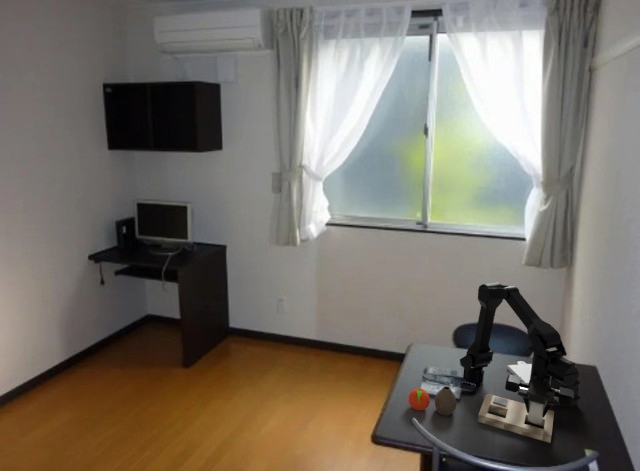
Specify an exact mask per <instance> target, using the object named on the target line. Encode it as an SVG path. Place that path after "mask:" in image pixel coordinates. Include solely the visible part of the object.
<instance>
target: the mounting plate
mask: <svg viewBox="0 0 640 471" xmlns="http://www.w3.org/2000/svg"><path fill="white" fill-rule="evenodd" d="M506 366H507V369H506V370H508V371H509V372H510V373H511V375H514V376H518V377H521V382H525V383H529V381H530V375H531V367H532V363H526V362H525V361H522V360H519V361H517V362H516V364H507V365H506Z"/></svg>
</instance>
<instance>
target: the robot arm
mask: <svg viewBox="0 0 640 471" xmlns="http://www.w3.org/2000/svg"><path fill="white" fill-rule="evenodd" d="M477 301H478V302H479V304H480V308H479V316H478V320H477V324H476V329H475V330H476V331H475V336H474V341H473V342H472V343H471V344H470V345H469V347H468V348H467V351H466V353H465V356H463V357H461V358H460V359H459V364H460V366H461V367H462V368H463V375H462V379H465V380H466V381H468V382H471V383H475V384H476V386H477V387H476V386H475V387H476V388H481V385H482V384H483V383H484V381H485V380H484V379H485V370H484V368H487V367H488V366H489V364H491V362H493V358H494V356H493V355H494V350H492V349H491V347H490V340H491V334H492V330H493V327H494V326H493V325H494V320H495V316H496V311H497V309H498V307H499V306H500V305H501V304H502V303H503V301H505V302H506V303H507V304H508V306H509V307H510V308H511V309H512V311H513V312H514V313H515V315H516V316H517V318H518V319H519V320H520V322H521V323H522V324H523V326H524V327H525V328H526V330H527V332H526V333H527V338H528V339H529V341H530V342H531V344H532V345H530V346H528V347H527V349H528V350H529V351H530V352H532V360H531V364H532V367H531V375H530V381H529V383H525V382H521V377H518V376H514V375H513V374H509V375H507V377H506V381H505V387H504V389H505V390H506V391H509V392H513V393H517V395H518V396H520V397H521V398H522V399H523V403H524V404H525V406H526V410H527V413H529V406H530V401H532V402H538V403H540V404H544V410H543V417H544V416H545V415H546V413H547V412H548V410H550V409H551V407H552V405H558V402H559V403H560V404H562V405H566V406H567V407H568V408H569V407H573V406H574V405H573V400H574V392H573V390H571V389H567V388H563V387H560V388H559V390H557V389H553V388H551V387H550V384H551V377H553V378H555V379H557V380H558V381H560V382H561V383H563V384H565V385H566V386H571V385H573V384H574V383H575V382H576V381H577V379H578V380H579V377H580V372H579V369H578V368H577V367H576V363H575V362H573V361H571V360H569V359H567V358H565V357H566V356H567V355H568V353H567V351H566V348H565V346H564V343H563V341H562V339H561V334H560V333H559V331H558V330H557V329H556V328H554V326H553V325H551V324H550V323H548V322H546V321H544V320H543V319H541V317H540V316H539V315H538V314H537V313H536V312H535V310H534V309H533V308H532V306H531V305H530V304H529V302H528V301H527V300H526V299H525V297H524V296H523V294H521V293H520V289H519V288H518V287H517V286H513V285H506V284H505V285H504V284H502V283H501V282H498V281H497V282H490V283H483V284H481V285H479V287H478V289H477ZM551 349H555V350H551Z"/></svg>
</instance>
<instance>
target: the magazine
mask: <svg viewBox="0 0 640 471" xmlns="http://www.w3.org/2000/svg"><path fill="white" fill-rule="evenodd" d="M580 384H581V383H580V380H579V378H578V379H577V381H576V382H575V383H574V384H573V385H571V386H566V385H565V384H563V383H561V382H560V381H558V380H557V379H555V378H553V377H551V384H550V387H551V388H553V389H557V390H559V388H560V387H563V388H567V389H571V390H573V392H574V400H573V406H578V402H579V400H580V399H581V396H580V395H579V391H580V390H579V385H580ZM552 406H553V407H554V406H558V407H559V406H566V405H562V404H560V403H559V402H558V405H552ZM552 406H551V407H552Z"/></svg>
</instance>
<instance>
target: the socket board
mask: <svg viewBox="0 0 640 471" xmlns="http://www.w3.org/2000/svg"><path fill="white" fill-rule="evenodd" d="M489 412H492V413H494V414H492V413H489ZM495 414H499V415H502V416H505V417H502V416H498V415H495ZM554 415H555V411H554V410H550V409H549V410H548V412H547V413H546V415H545V416H544V417H542V423H540V424H535V423H532V422H530V421H529V420H528V413H527V410H526V406H525V402H520V401H516V400H512V399H509V398H506V397H501V396H497V395H495V394H489V393H485V396H484V399H483V402H482V404H481V406H480V410H479V412H478V416H477V417H478V418H477V422H478V423H482V424H485V425H489V426H491V427H494V428H498V429H502V430H505V431H508V432H512V433H515V434H518V435H520V436H521V435H522V436H525V437H529V438H532V439H535V440H538V441H543V442H545V443H549V444H551V441H552V434H553V425H554V424H553V423H554V417H555V416H554ZM526 422H527V424H525V423H526ZM528 423H530V424H528ZM531 424H533V426H532V425H531ZM534 425H537V426H541V427H543V428H540V427H537V426H534Z"/></svg>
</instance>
